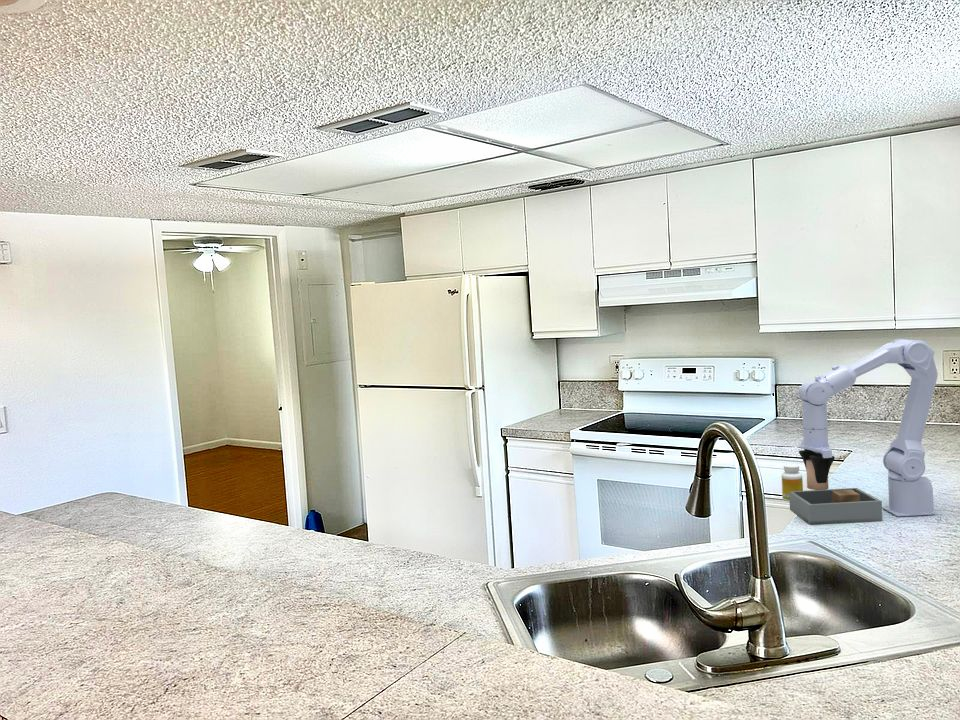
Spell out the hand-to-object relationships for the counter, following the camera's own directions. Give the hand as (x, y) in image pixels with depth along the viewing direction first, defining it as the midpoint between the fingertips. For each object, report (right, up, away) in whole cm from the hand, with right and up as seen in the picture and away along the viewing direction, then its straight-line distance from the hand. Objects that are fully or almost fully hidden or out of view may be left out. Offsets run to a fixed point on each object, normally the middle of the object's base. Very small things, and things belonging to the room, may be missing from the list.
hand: (817, 480), depth 193 cm
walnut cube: (+7, -8, 0) cm, 11 cm away
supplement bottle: (+1, -8, +17) cm, 19 cm away
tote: (+5, -9, 0) cm, 10 cm away
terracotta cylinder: (0, -2, 0) cm, 2 cm away
